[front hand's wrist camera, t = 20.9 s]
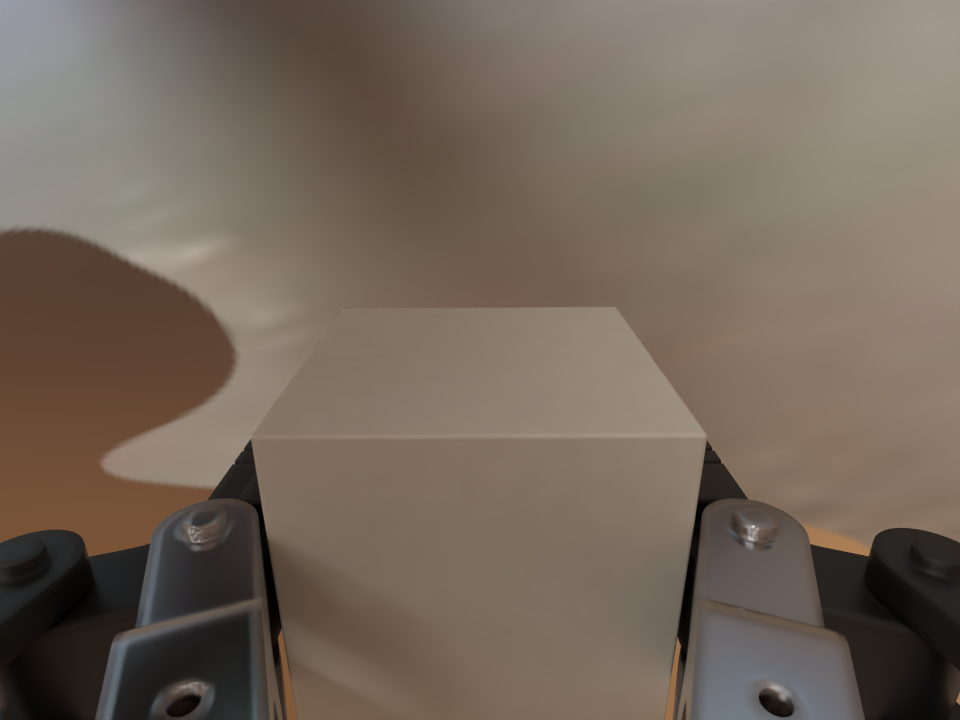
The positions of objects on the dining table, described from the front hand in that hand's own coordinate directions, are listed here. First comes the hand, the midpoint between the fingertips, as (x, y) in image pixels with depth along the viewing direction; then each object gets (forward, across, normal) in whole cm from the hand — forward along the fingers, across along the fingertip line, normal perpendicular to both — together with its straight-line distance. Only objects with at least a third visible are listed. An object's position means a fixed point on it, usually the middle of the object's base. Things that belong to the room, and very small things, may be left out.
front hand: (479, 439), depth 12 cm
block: (+1, 0, 0) cm, 1 cm away
